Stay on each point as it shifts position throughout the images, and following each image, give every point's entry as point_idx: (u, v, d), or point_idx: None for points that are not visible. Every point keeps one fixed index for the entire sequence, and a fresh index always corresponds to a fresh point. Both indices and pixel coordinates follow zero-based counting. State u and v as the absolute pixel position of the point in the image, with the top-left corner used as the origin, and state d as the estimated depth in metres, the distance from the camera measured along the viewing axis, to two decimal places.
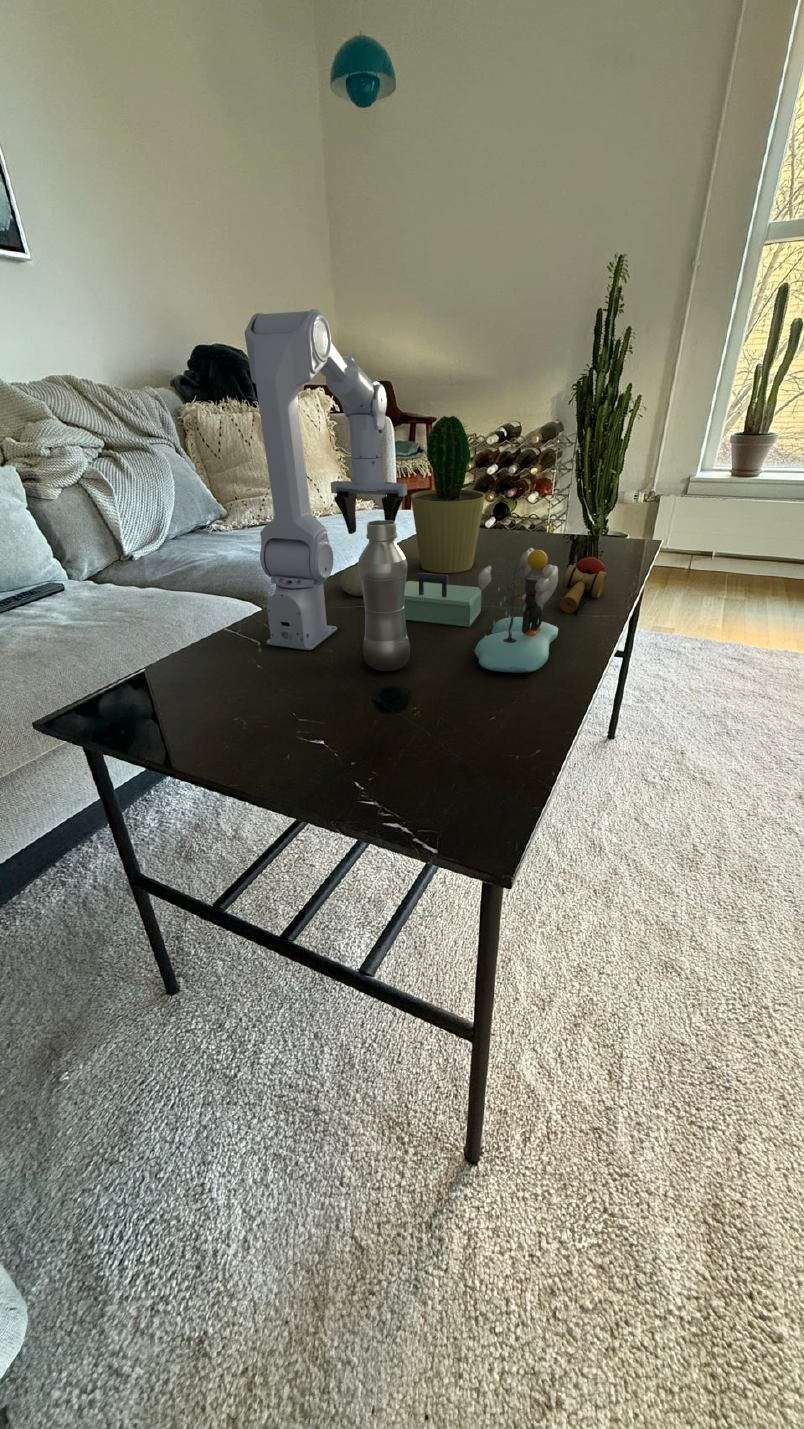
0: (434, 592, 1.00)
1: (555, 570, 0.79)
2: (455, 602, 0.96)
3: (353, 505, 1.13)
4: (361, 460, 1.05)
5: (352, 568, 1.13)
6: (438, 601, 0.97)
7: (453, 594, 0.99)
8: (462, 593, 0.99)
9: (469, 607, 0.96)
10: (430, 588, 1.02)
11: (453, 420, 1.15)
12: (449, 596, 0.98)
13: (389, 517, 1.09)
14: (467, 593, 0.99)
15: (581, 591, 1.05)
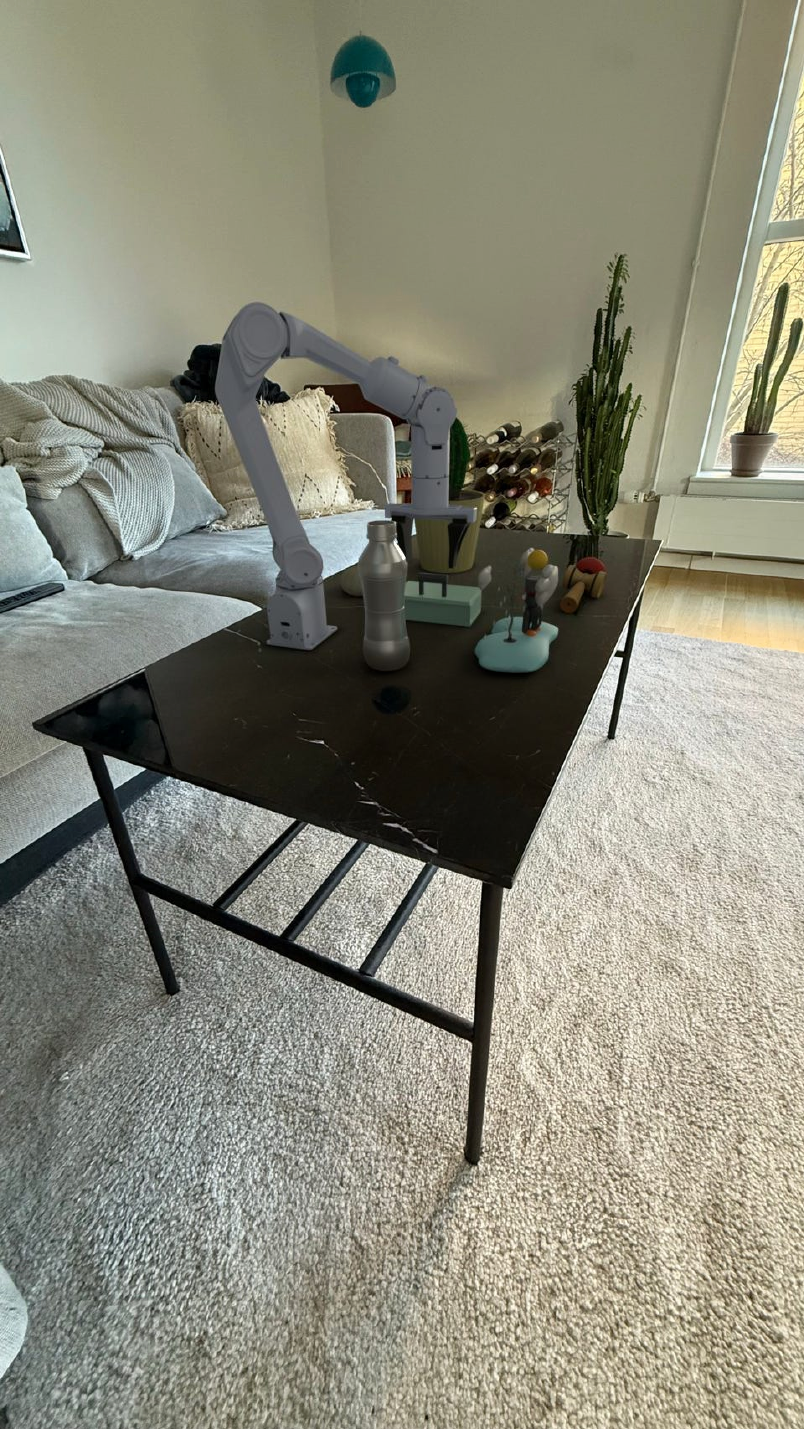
0: (434, 592, 1.00)
1: (555, 570, 0.79)
2: (455, 602, 0.96)
3: (409, 531, 0.97)
4: (425, 480, 0.88)
5: (352, 568, 1.13)
6: (438, 601, 0.97)
7: (453, 594, 0.99)
8: (462, 593, 0.99)
9: (469, 607, 0.96)
10: (430, 588, 1.02)
11: None
12: (449, 596, 0.98)
13: (455, 546, 0.93)
14: (467, 593, 0.99)
15: (581, 591, 1.05)
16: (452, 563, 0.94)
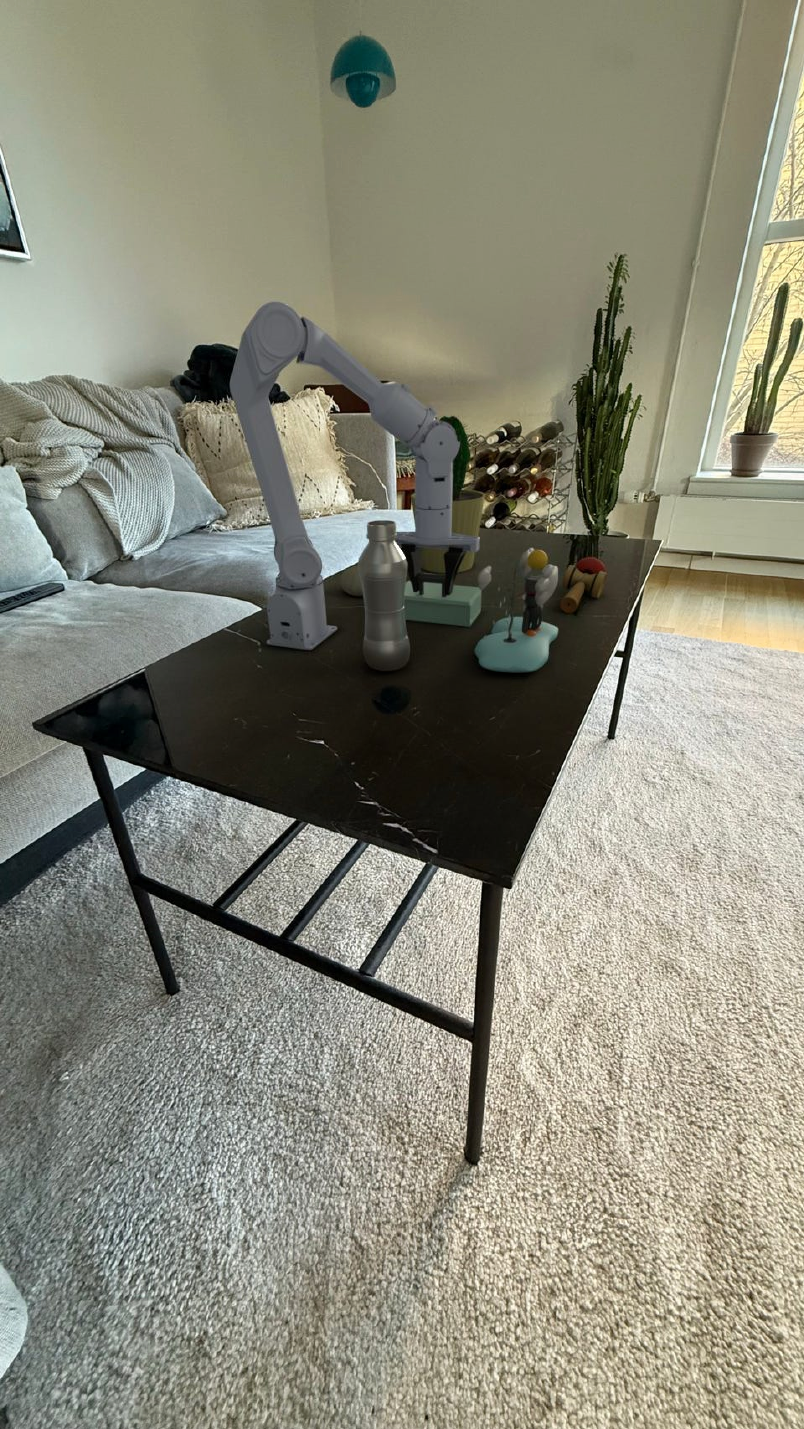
0: (434, 592, 1.00)
1: (555, 570, 0.79)
2: (455, 602, 0.96)
3: (419, 559, 0.98)
4: (428, 511, 0.89)
5: (352, 568, 1.13)
6: (438, 601, 0.97)
7: (453, 594, 0.99)
8: (462, 593, 0.99)
9: (469, 607, 0.96)
10: (430, 588, 1.02)
11: (453, 420, 1.15)
12: (449, 596, 0.98)
13: (451, 575, 0.94)
14: (467, 593, 0.99)
15: (581, 591, 1.05)
16: (448, 590, 0.96)
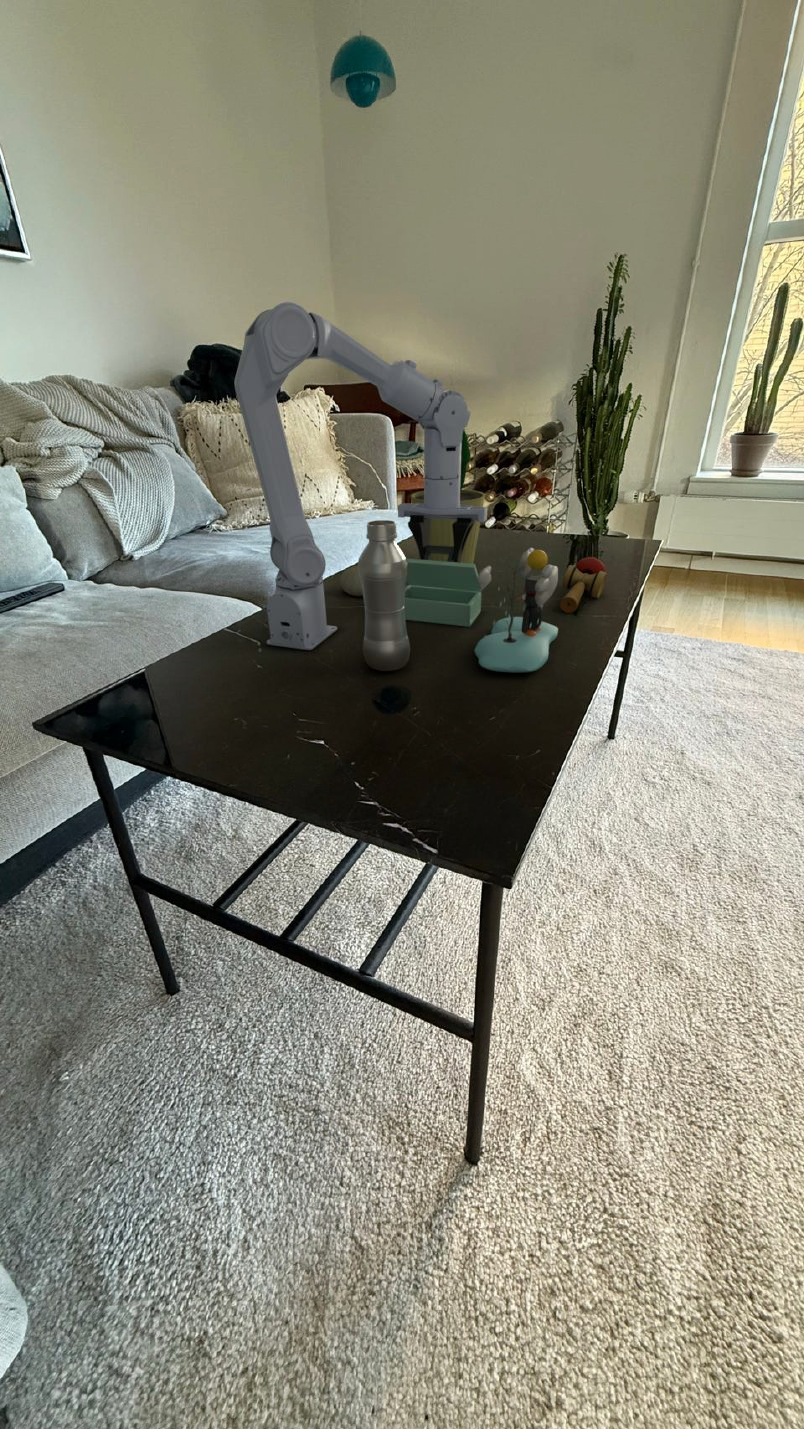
0: None
1: (555, 570, 0.79)
2: (460, 564, 0.95)
3: (427, 531, 0.99)
4: (437, 481, 0.91)
5: (352, 568, 1.13)
6: (443, 563, 0.96)
7: None
8: None
9: (469, 607, 0.96)
10: None
11: None
12: None
13: (459, 545, 0.96)
14: None
15: (581, 591, 1.05)
16: (456, 561, 0.98)
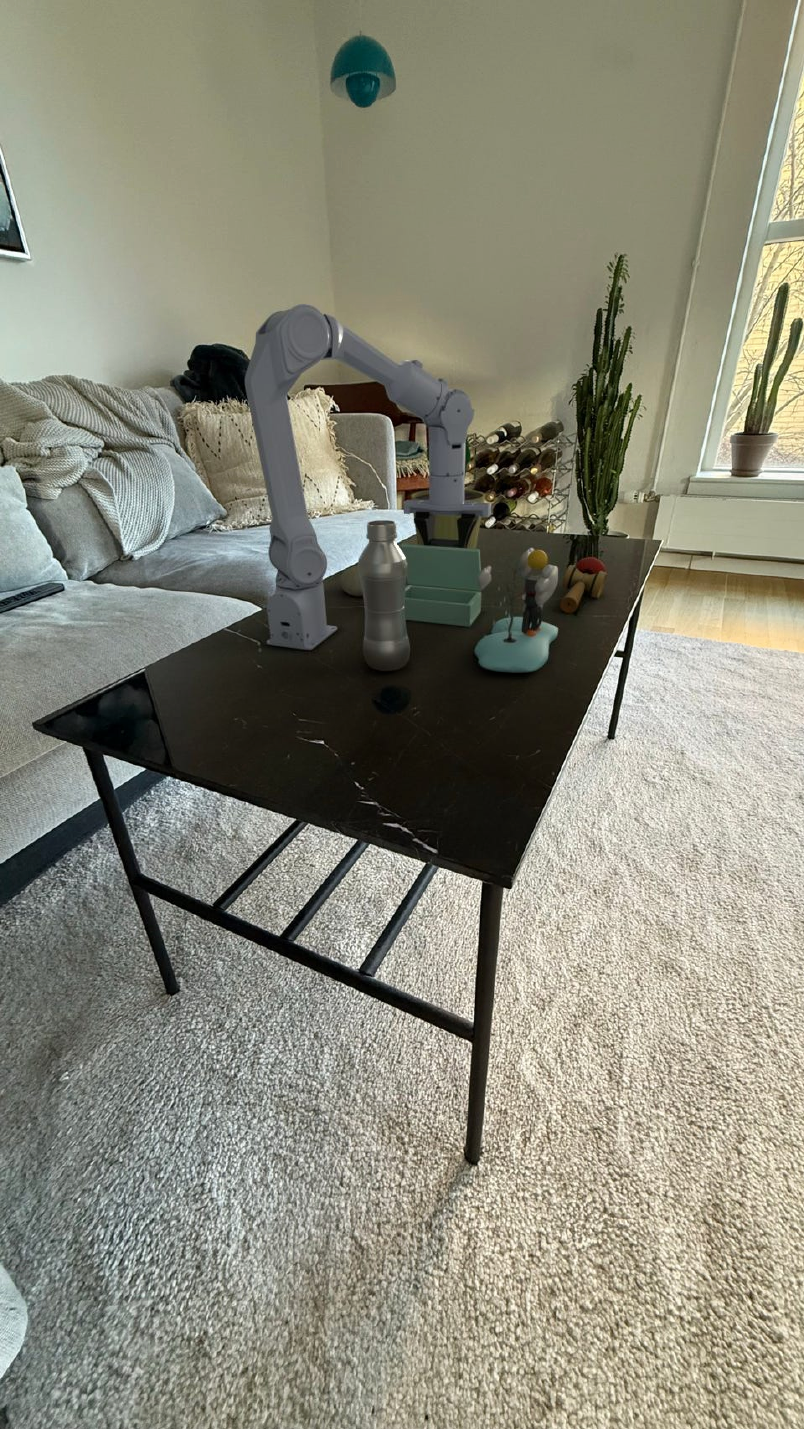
0: None
1: (555, 570, 0.79)
2: (464, 549, 0.97)
3: (432, 527, 1.01)
4: (442, 478, 0.93)
5: (352, 568, 1.13)
6: (447, 548, 0.97)
7: None
8: None
9: (469, 607, 0.96)
10: None
11: None
12: None
13: (464, 540, 0.98)
14: None
15: (581, 591, 1.05)
16: None
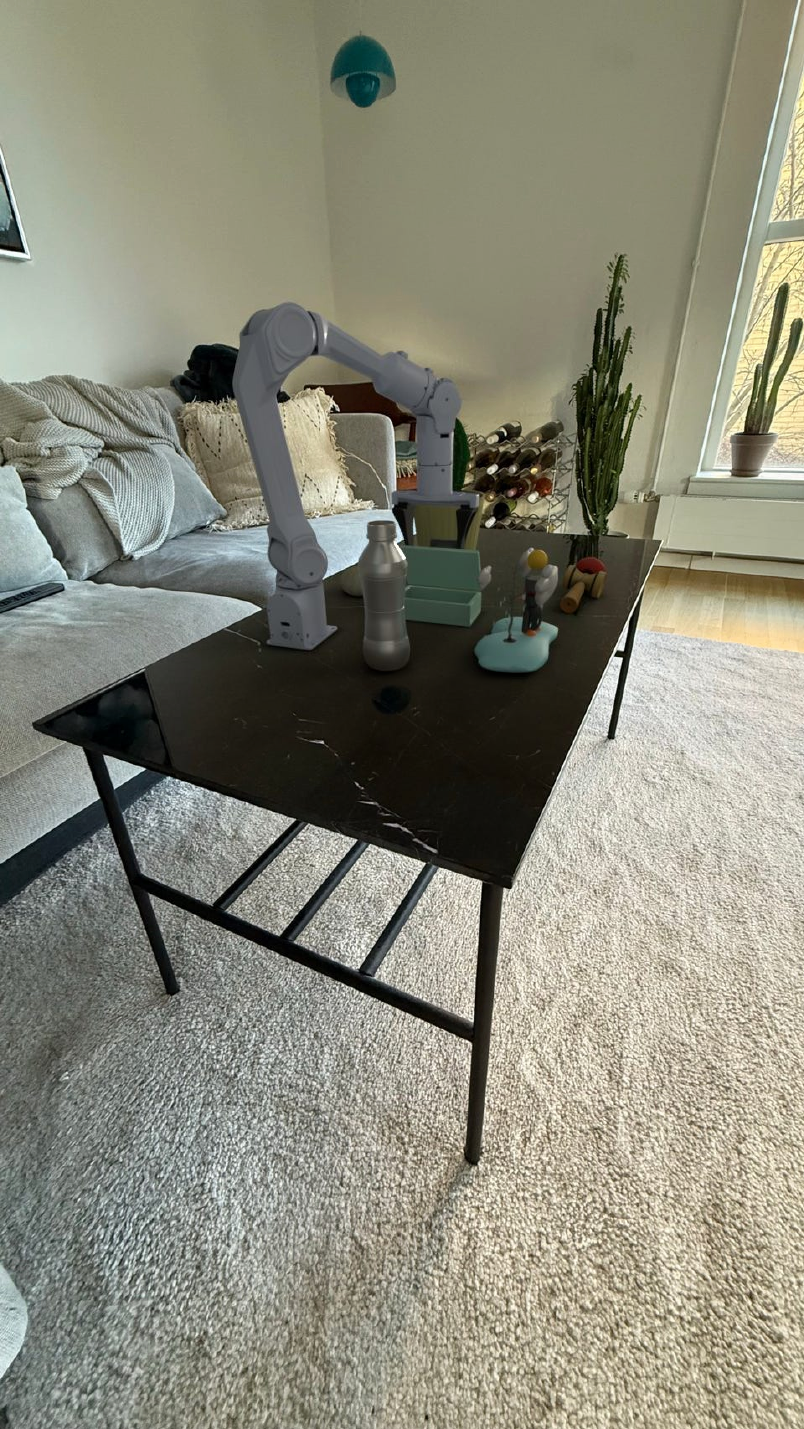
0: None
1: (555, 570, 0.79)
2: (464, 550, 0.97)
3: (411, 517, 1.01)
4: (429, 467, 0.93)
5: (352, 568, 1.13)
6: (447, 549, 0.97)
7: None
8: None
9: (469, 607, 0.96)
10: None
11: None
12: None
13: (463, 531, 0.97)
14: None
15: (581, 591, 1.05)
16: (460, 548, 0.99)
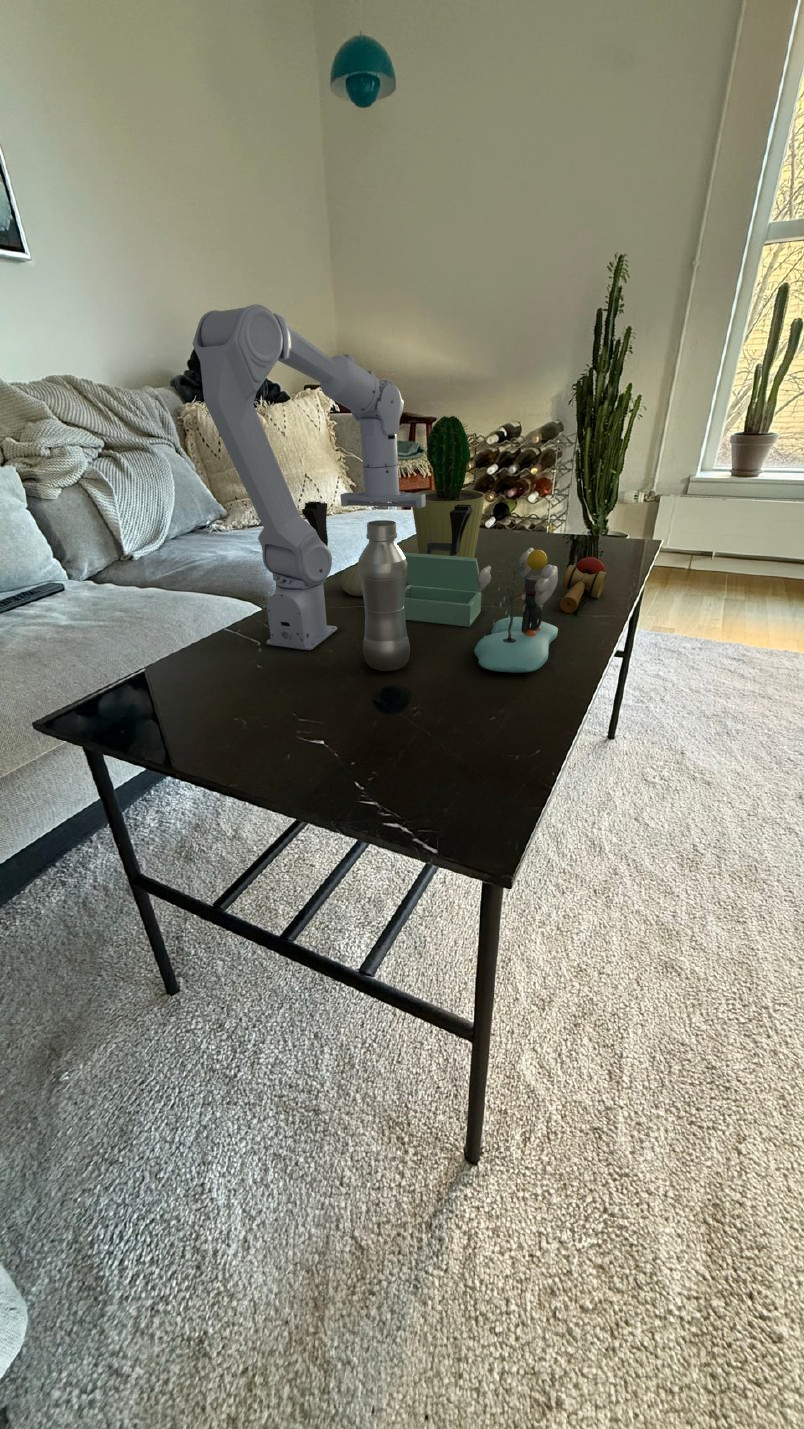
0: None
1: (555, 570, 0.79)
2: (461, 557, 0.96)
3: (323, 517, 1.05)
4: (374, 469, 0.94)
5: (352, 568, 1.13)
6: (444, 557, 0.97)
7: None
8: None
9: (469, 607, 0.96)
10: None
11: (453, 420, 1.15)
12: None
13: (457, 533, 0.95)
14: None
15: (581, 591, 1.05)
16: (455, 549, 0.97)
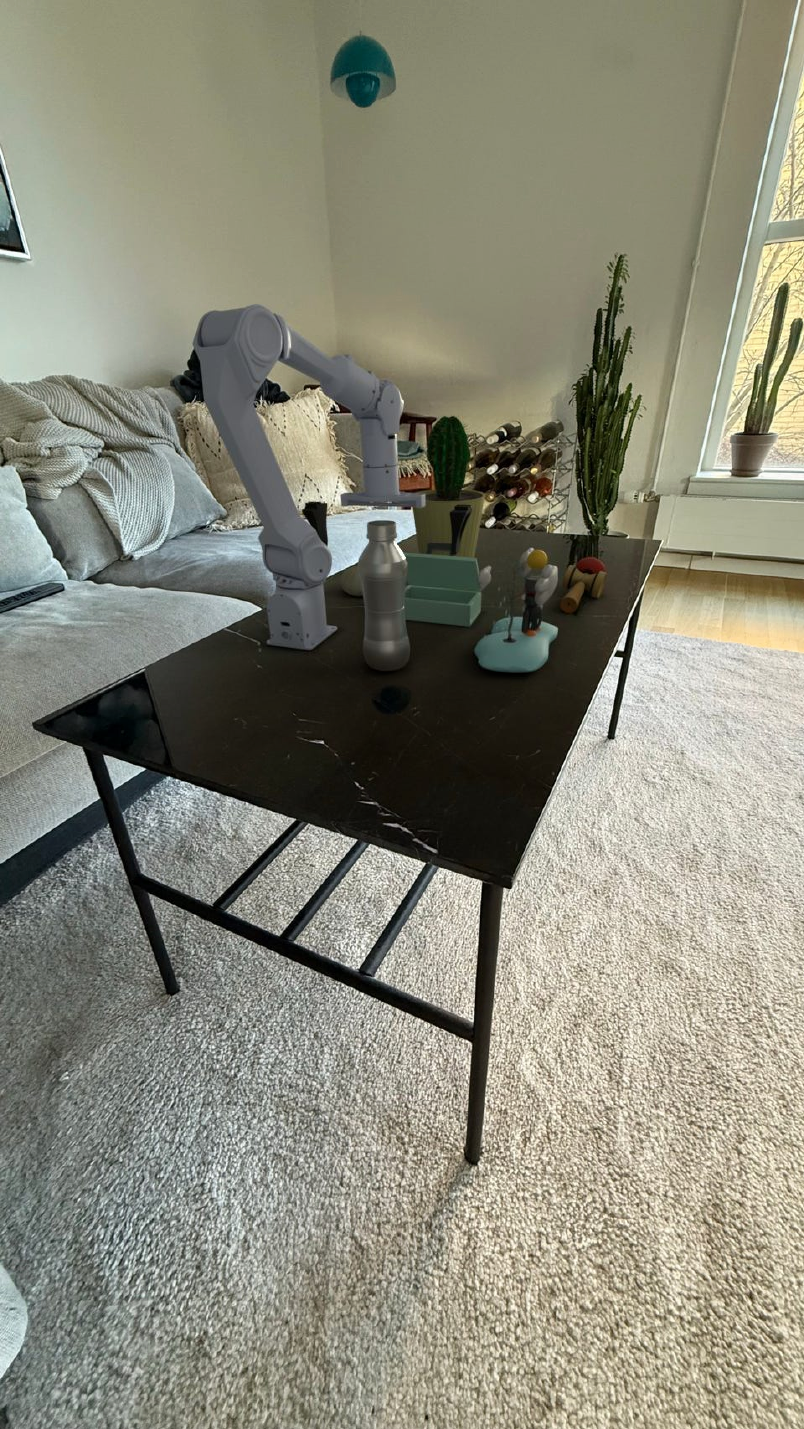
0: None
1: (555, 570, 0.79)
2: (461, 557, 0.96)
3: (323, 517, 1.05)
4: (374, 469, 0.94)
5: (352, 568, 1.13)
6: (444, 557, 0.97)
7: None
8: None
9: (469, 607, 0.96)
10: None
11: (453, 420, 1.15)
12: None
13: (457, 533, 0.95)
14: None
15: (581, 591, 1.05)
16: (455, 549, 0.97)
